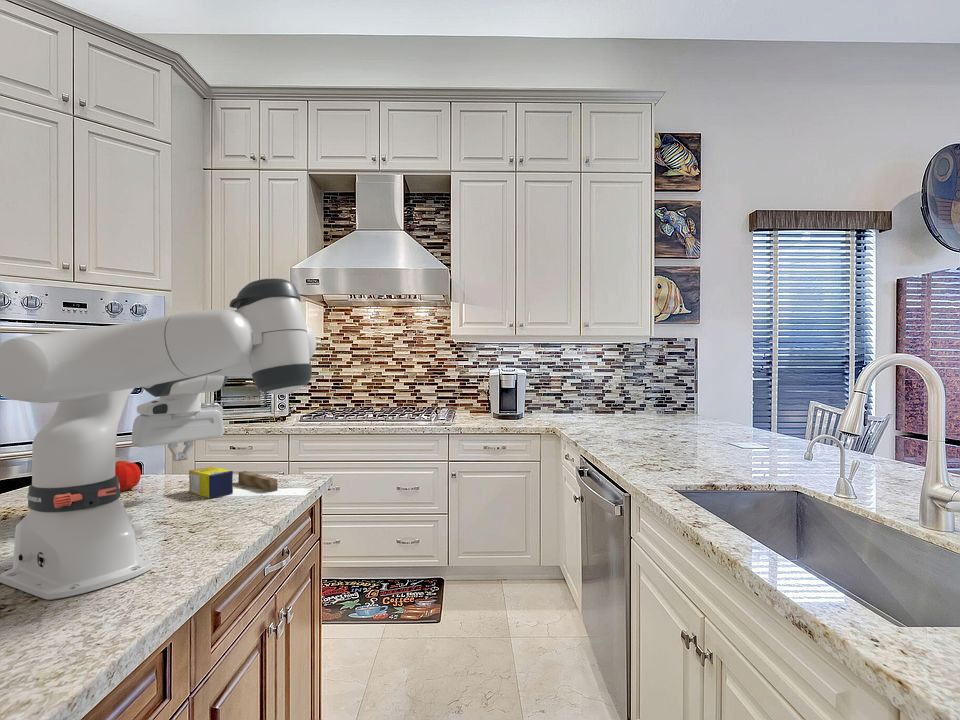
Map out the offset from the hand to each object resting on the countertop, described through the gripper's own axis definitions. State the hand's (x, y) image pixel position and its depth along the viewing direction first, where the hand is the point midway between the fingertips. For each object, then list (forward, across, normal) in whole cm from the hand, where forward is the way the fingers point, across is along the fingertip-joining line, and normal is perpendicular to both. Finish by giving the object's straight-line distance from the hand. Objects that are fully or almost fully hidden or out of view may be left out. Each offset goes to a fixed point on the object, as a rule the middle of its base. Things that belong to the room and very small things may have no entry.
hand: (180, 460), depth 123 cm
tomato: (+10, +6, -23) cm, 26 cm away
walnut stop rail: (+10, -18, +3) cm, 21 cm away
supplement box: (+7, -8, +6) cm, 12 cm away
